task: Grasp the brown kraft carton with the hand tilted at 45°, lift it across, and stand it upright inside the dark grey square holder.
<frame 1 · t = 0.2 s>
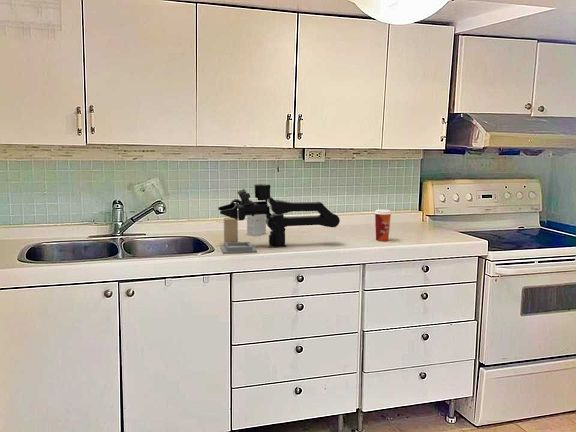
hand: (219, 210, 242), 16 cm above the counter, tool horizontal, fingers open, 9 cm apart
carton: (230, 245, 250), on the counter
holder: (238, 250, 240), on the counter
paper cup: (382, 240, 262), on the counter
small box: (256, 234, 275), on the counter
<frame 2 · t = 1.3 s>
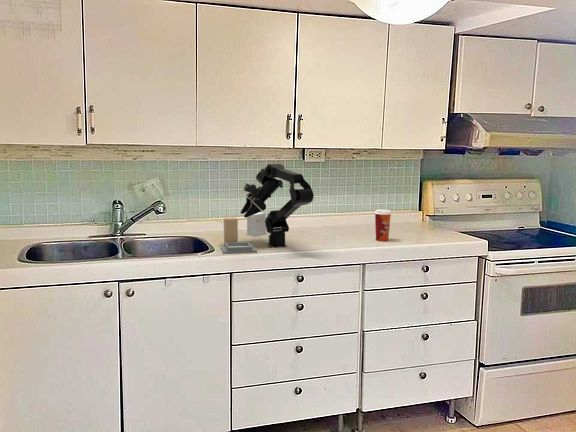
hand: (242, 215, 249), 13 cm above the counter, tool tilted 45°, fingers open, 9 cm apart
nothing on the counter moved.
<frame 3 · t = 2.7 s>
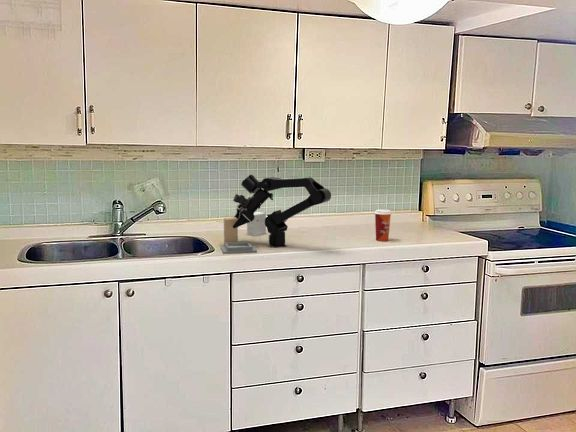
hand: (232, 225, 249), 9 cm above the counter, tool tilted 45°, fingers open, 9 cm apart
nothing on the counter moved.
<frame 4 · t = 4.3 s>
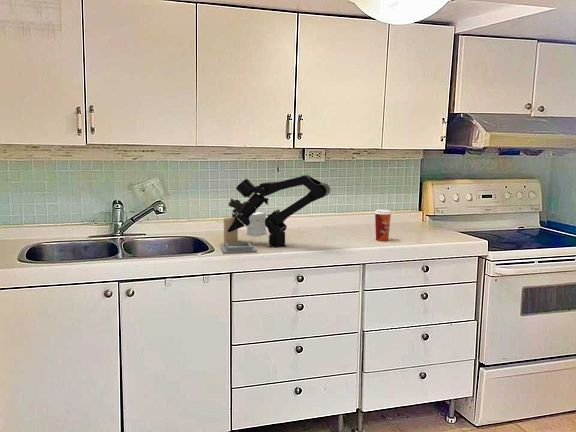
hand: (227, 230, 248), 7 cm above the counter, tool tilted 45°, fingers closed on carton, 5 cm apart
carton: (230, 245, 250), on the counter, touching gripper
everything else where it was.
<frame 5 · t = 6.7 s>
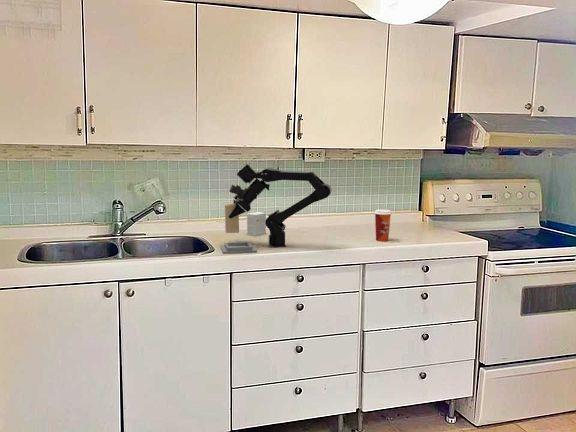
hand: (228, 216, 246), 13 cm above the counter, tool tilted 45°, fingers closed on carton, 5 cm apart
carton: (232, 231, 247), point 6 cm above the counter, touching gripper
everything else where it was.
when the fingers open (9 cm above the counter, at t = 9.3 s): carton drops 1 cm, resting on holder.
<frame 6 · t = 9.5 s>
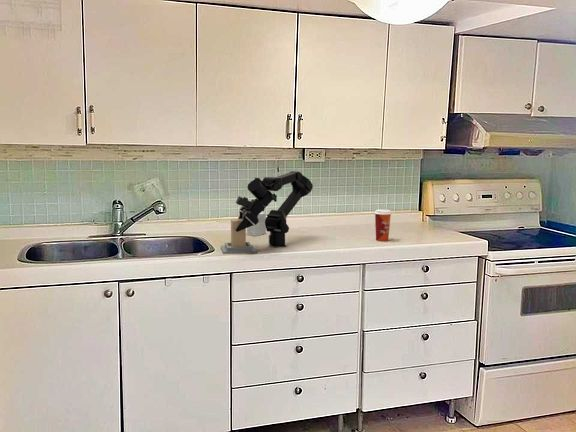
hand: (234, 229, 238), 9 cm above the counter, tool tilted 45°, fingers open, 8 cm apart
carton: (238, 248, 239), point 1 cm above the counter, touching holder
everything else where it was.
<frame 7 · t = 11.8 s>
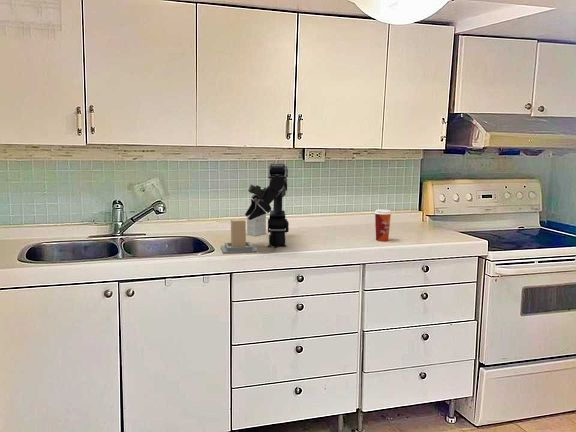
hand: (247, 217, 241), 14 cm above the counter, tool tilted 45°, fingers open, 9 cm apart
nothing on the counter moved.
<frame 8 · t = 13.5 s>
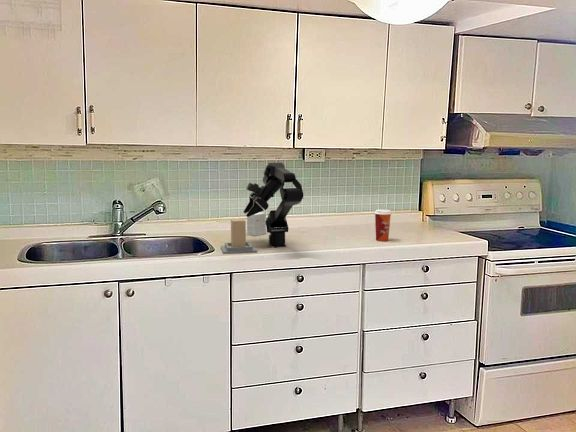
hand: (245, 214, 248), 14 cm above the counter, tool tilted 45°, fingers open, 9 cm apart
nothing on the counter moved.
at the end: carton 0.0 cm off-centre on the holder, point 0.9 cm above the holder's base; carton tilted 0°; the gripper is holding nothing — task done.
